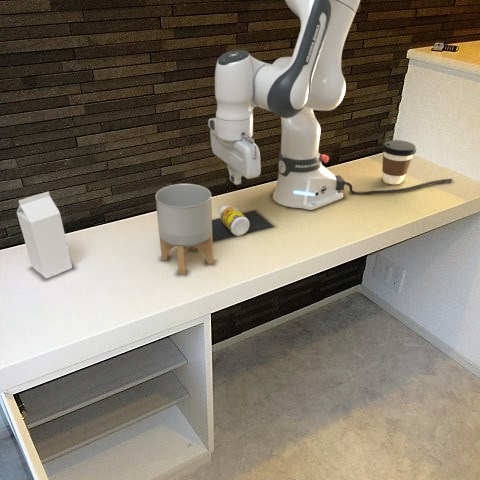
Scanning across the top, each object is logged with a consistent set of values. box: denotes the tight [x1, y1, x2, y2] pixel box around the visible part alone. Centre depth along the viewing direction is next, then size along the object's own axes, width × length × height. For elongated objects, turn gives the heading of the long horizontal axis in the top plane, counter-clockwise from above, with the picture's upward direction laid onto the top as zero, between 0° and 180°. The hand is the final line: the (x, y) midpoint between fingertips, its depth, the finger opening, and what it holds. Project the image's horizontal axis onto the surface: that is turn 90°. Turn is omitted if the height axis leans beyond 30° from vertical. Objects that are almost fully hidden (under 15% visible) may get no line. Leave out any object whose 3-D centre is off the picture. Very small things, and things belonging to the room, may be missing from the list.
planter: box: [154, 183, 214, 275], centre depth 121 cm, size 13×13×18 cm
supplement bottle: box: [219, 204, 249, 237], centre depth 138 cm, size 6×6×10 cm
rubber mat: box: [212, 210, 274, 242], centre depth 142 cm, size 20×11×1 cm, turn 118°
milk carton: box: [16, 191, 73, 280], centre depth 117 cm, size 7×7×19 cm
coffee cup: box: [381, 139, 417, 185], centre depth 165 cm, size 11×11×12 cm
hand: (235, 182), depth 129 cm, fingers closed
